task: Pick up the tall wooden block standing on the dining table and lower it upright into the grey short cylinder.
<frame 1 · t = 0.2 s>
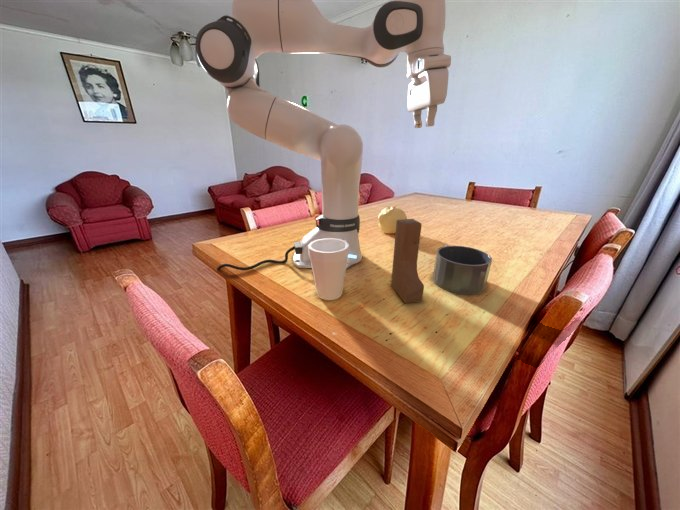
hand: (423, 127, 73), 39 cm above the table, tool pointing down, fingers open, 8 cm apart
foam cup: (329, 293, 66), on the table
grey short cylinder: (458, 281, 71), on the table
wooden block: (405, 293, 66), on the table
sculpture: (391, 232, 111), on the table
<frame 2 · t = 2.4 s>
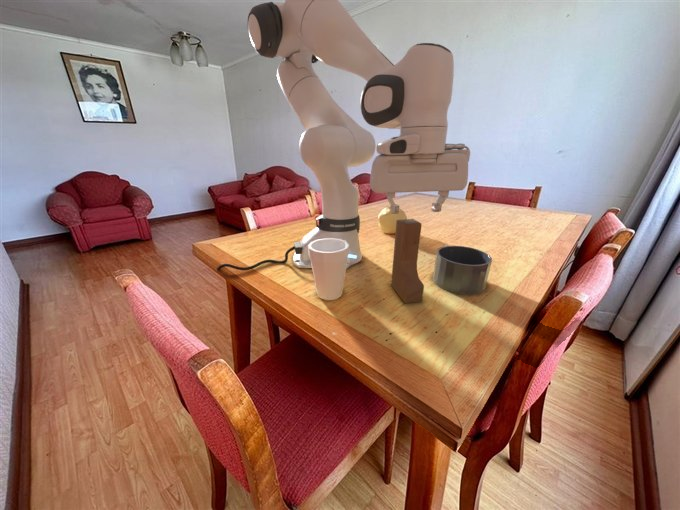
hand: (415, 212, 58), 21 cm above the table, tool pointing down, fingers open, 8 cm apart
nothing on the table moved.
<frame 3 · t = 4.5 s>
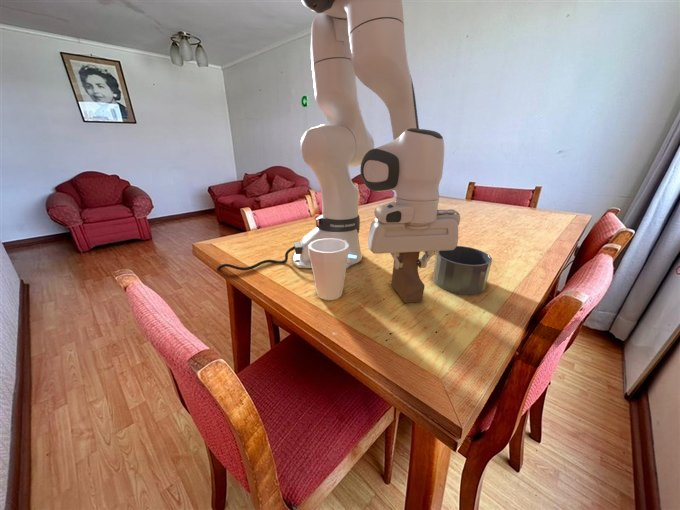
hand: (409, 267, 63), 7 cm above the table, tool pointing down, fingers closed on wooden block, 4 cm apart
wooden block: (405, 293, 66), on the table, touching gripper
everything else where it was.
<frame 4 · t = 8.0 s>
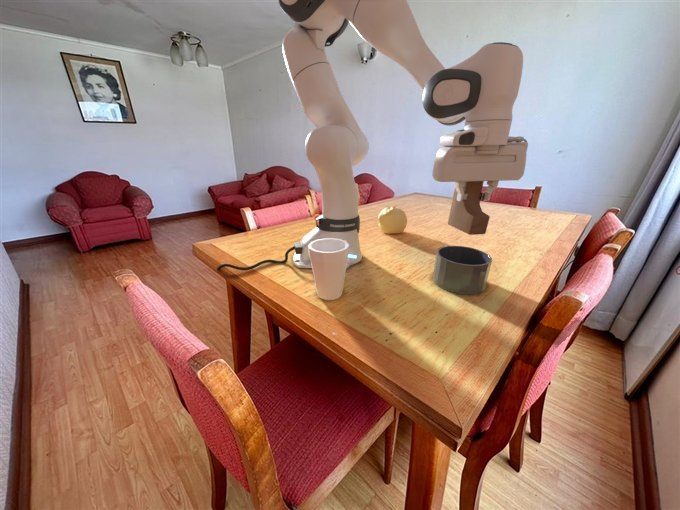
hand: (472, 200, 62), 22 cm above the table, tool pointing down, fingers closed on wooden block, 4 cm apart
wooden block: (465, 230, 66), point 15 cm above the table, touching gripper
everything else where it was.
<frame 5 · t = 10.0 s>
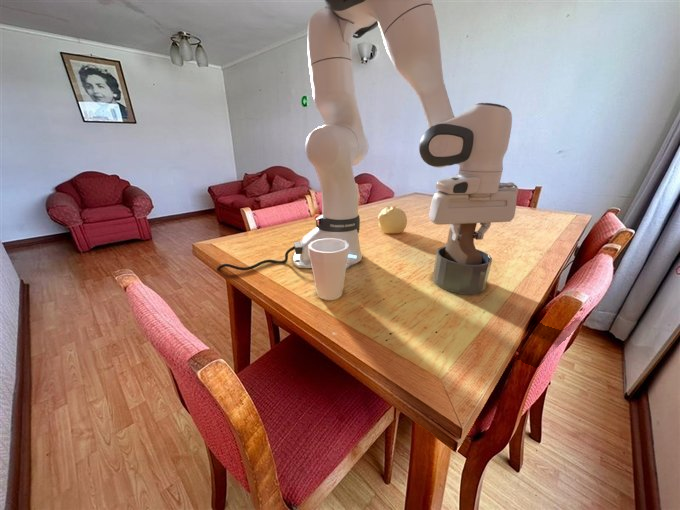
hand: (466, 239, 66), 12 cm above the table, tool pointing down, fingers closed on wooden block, 4 cm apart
wooden block: (460, 265, 70), point 5 cm above the table, touching gripper
everything else where it was.
when the fingers open (8 cm above the table, at t = 11.4 s): wooden block stays where it is, resting on grey short cylinder.
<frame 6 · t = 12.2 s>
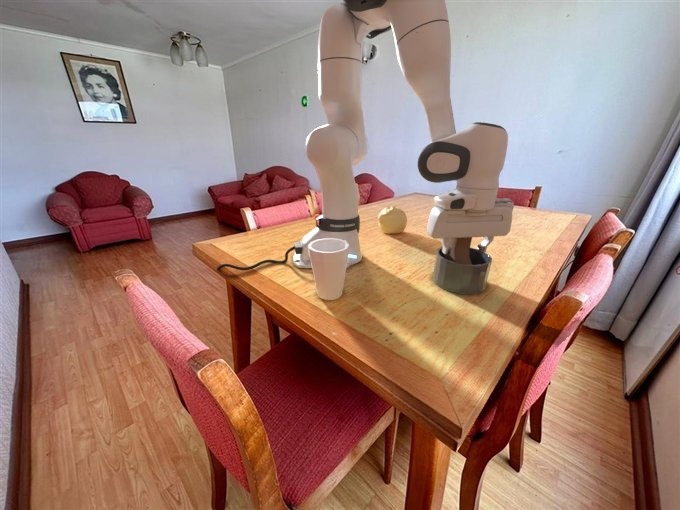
hand: (463, 252, 68), 9 cm above the table, tool pointing down, fingers open, 8 cm apart
wooden block: (457, 279, 71), point 1 cm above the table, touching grey short cylinder
everything else where it was.
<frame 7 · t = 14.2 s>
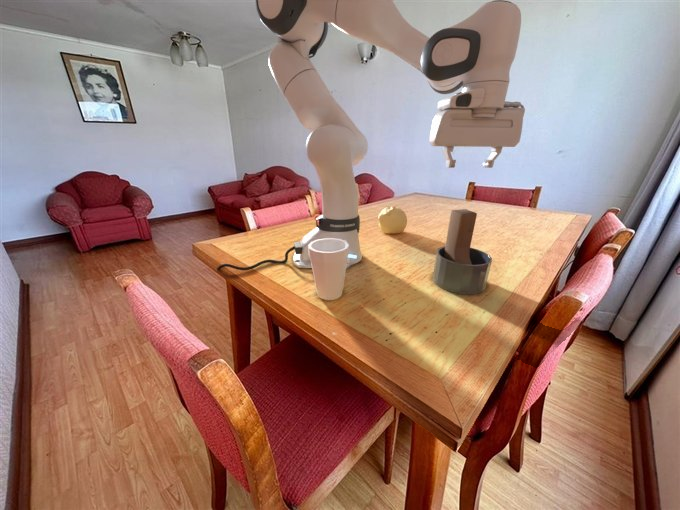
hand: (468, 167, 63), 29 cm above the table, tool pointing down, fingers open, 8 cm apart
nothing on the table moved.
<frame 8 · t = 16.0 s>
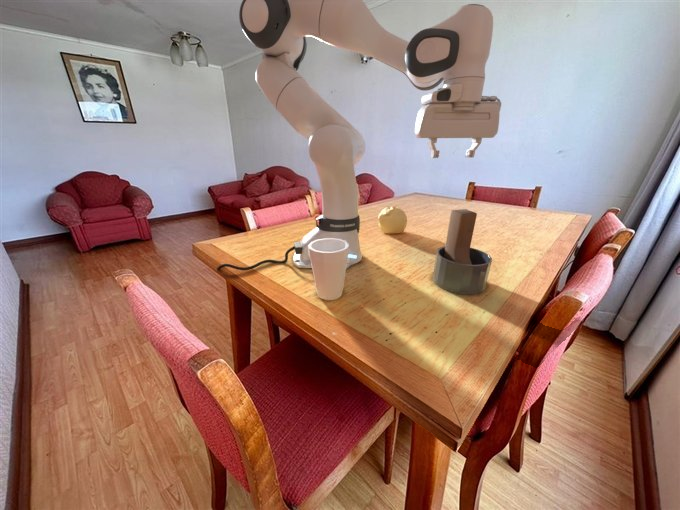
hand: (451, 157, 68), 31 cm above the table, tool pointing down, fingers open, 8 cm apart
nothing on the table moved.
at the end: wooden block inside the target area in the grey short cylinder (0.4 cm from its centre), point 0.6 cm above the grey short cylinder's base; the gripper is holding nothing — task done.
